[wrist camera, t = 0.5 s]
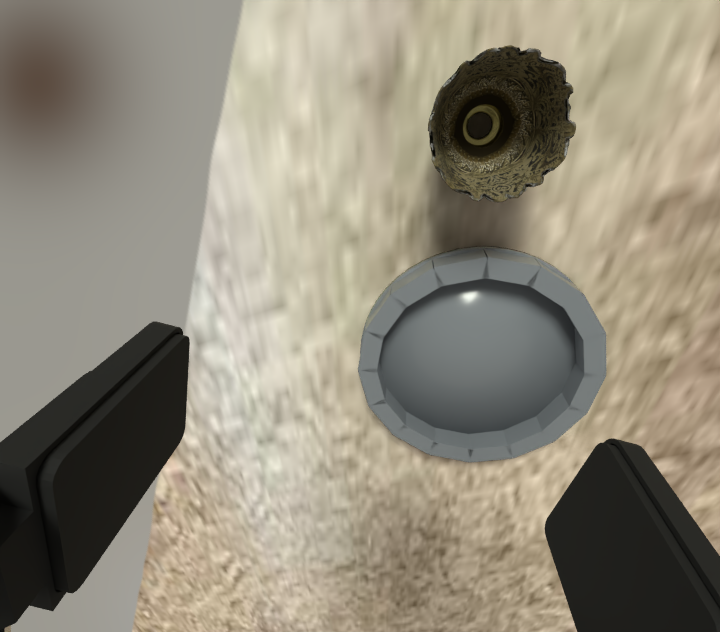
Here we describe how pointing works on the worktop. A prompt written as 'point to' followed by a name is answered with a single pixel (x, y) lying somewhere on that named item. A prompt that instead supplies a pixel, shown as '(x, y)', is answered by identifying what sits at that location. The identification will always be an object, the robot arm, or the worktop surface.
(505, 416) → the round dish
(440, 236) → the worktop surface
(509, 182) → the cup
